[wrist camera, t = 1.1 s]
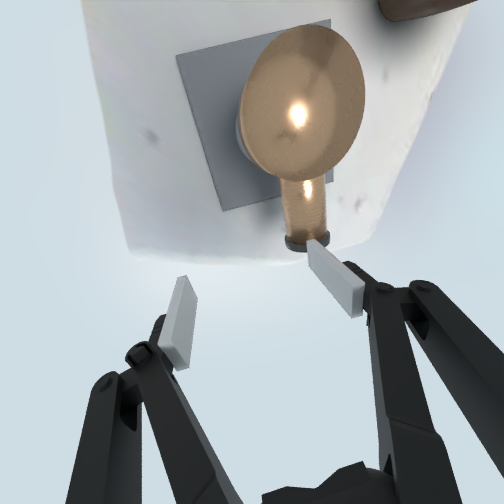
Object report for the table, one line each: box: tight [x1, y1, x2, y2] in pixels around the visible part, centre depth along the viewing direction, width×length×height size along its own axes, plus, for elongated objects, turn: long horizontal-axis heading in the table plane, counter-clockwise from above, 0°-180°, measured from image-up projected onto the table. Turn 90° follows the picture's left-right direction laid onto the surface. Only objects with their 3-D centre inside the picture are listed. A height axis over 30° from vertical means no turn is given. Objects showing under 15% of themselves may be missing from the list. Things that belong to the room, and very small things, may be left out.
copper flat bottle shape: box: [237, 24, 365, 252], centre depth 25 cm, size 23×13×7 cm, turn 13°
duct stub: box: [176, 19, 334, 211], centre depth 31 cm, size 28×24×11 cm
